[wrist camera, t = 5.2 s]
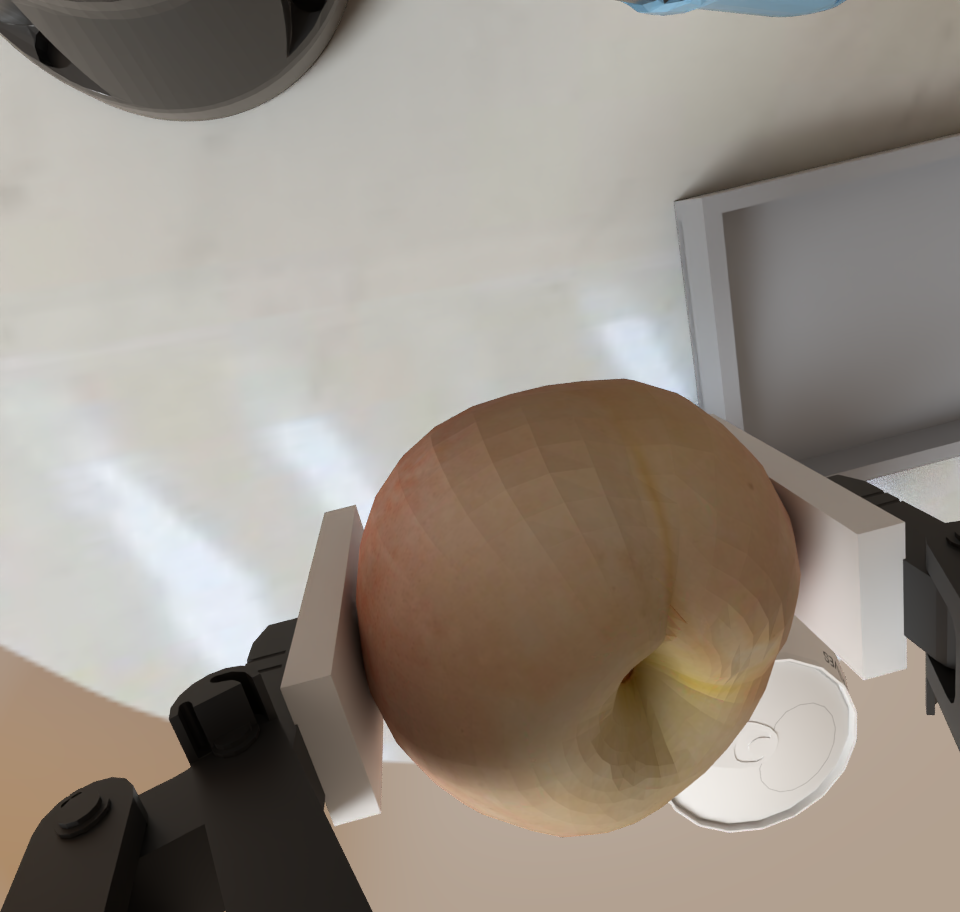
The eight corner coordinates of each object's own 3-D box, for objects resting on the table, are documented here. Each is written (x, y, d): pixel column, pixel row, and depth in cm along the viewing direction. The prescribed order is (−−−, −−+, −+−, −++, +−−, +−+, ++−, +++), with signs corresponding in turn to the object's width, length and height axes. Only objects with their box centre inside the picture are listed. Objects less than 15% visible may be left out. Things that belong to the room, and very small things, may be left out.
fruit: (651, 645, 19) (827, 928, 11) (357, 639, 17) (328, 950, 10) (712, 359, 16) (991, 470, 9) (375, 329, 15) (356, 426, 7)
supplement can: (706, 490, 36) (909, 652, 22) (667, 625, 38) (827, 850, 24) (561, 470, 35) (676, 629, 20) (529, 611, 37) (614, 842, 23)
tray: (673, 201, 31) (701, 197, 28) (1054, 109, 32) (1118, 96, 29) (709, 493, 36) (736, 514, 33) (1039, 406, 37) (1093, 420, 34)
